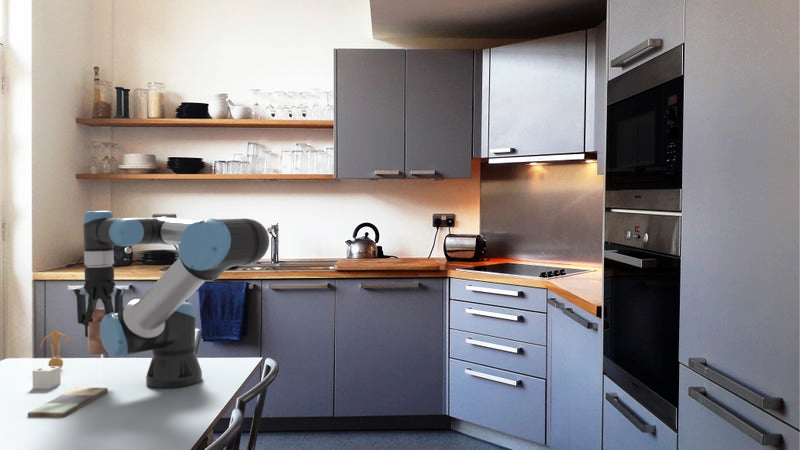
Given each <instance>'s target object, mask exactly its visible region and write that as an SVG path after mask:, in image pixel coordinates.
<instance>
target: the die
mask: <svg viewBox="0 0 800 450" xmlns="http://www.w3.org/2000/svg"><path fill="white" fill-rule="evenodd" d="M31 372H32V389H46V390H47V389H49V390H50V389H52V388H55V387H57V386H59V385H61V383H62V382H61V380H62V379H61V377H62V376H61V368H60V366H49V365H47V366H45V365H44V366H43V365H42V366H41V367H38V368H36V369H34V370H32V371H31Z"/></svg>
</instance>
